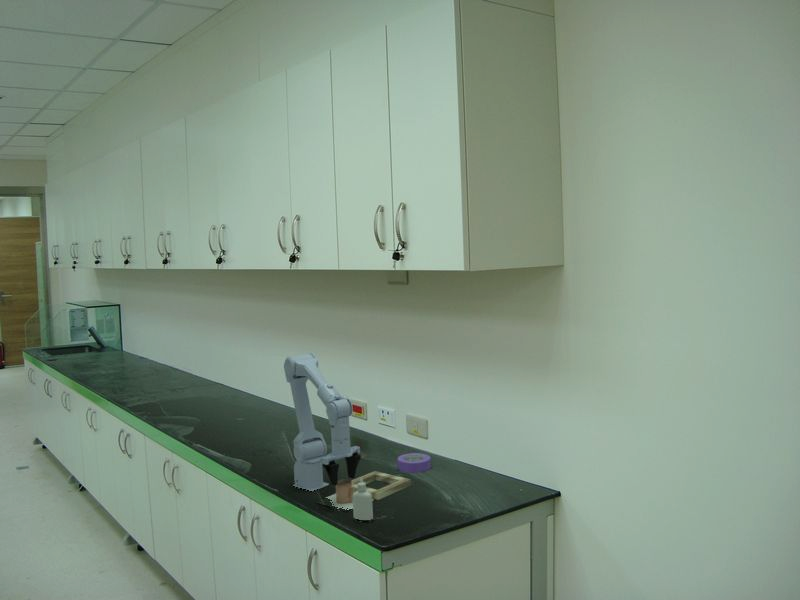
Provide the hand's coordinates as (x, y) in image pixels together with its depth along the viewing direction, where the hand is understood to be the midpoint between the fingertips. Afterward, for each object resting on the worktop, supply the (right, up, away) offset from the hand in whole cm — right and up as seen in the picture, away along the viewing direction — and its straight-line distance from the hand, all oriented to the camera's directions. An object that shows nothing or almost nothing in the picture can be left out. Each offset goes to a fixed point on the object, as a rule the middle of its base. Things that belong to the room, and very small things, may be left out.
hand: (342, 481), depth 218 cm
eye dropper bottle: (+7, -8, -15) cm, 18 cm away
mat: (0, -7, 0) cm, 7 cm away
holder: (+10, -5, +12) cm, 16 cm away
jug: (+1, -6, 0) cm, 6 cm away
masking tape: (+23, -4, +31) cm, 39 cm away
